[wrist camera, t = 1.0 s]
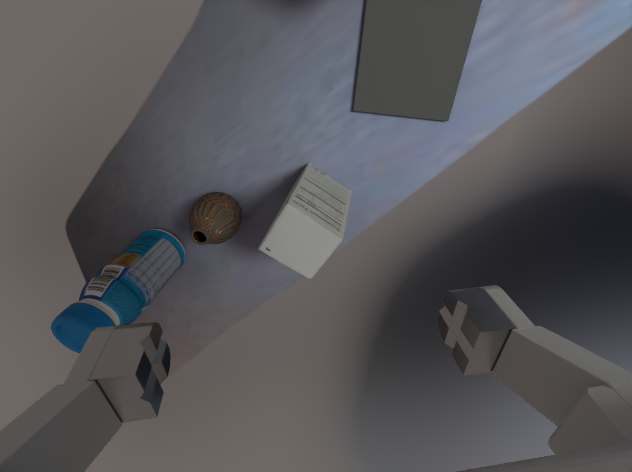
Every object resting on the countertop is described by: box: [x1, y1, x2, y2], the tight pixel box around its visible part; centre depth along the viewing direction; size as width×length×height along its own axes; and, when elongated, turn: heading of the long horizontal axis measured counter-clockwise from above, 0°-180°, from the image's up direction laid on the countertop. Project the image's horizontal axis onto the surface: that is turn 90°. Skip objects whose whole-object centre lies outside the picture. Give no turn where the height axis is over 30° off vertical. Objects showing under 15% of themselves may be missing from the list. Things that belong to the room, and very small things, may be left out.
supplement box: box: [258, 163, 352, 279], centre depth 42 cm, size 7×7×13 cm
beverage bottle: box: [51, 229, 186, 353], centre depth 49 cm, size 8×8×20 cm
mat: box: [353, 0, 482, 121], centre depth 36 cm, size 12×11×1 cm
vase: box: [189, 192, 242, 245], centre depth 47 cm, size 7×7×9 cm
